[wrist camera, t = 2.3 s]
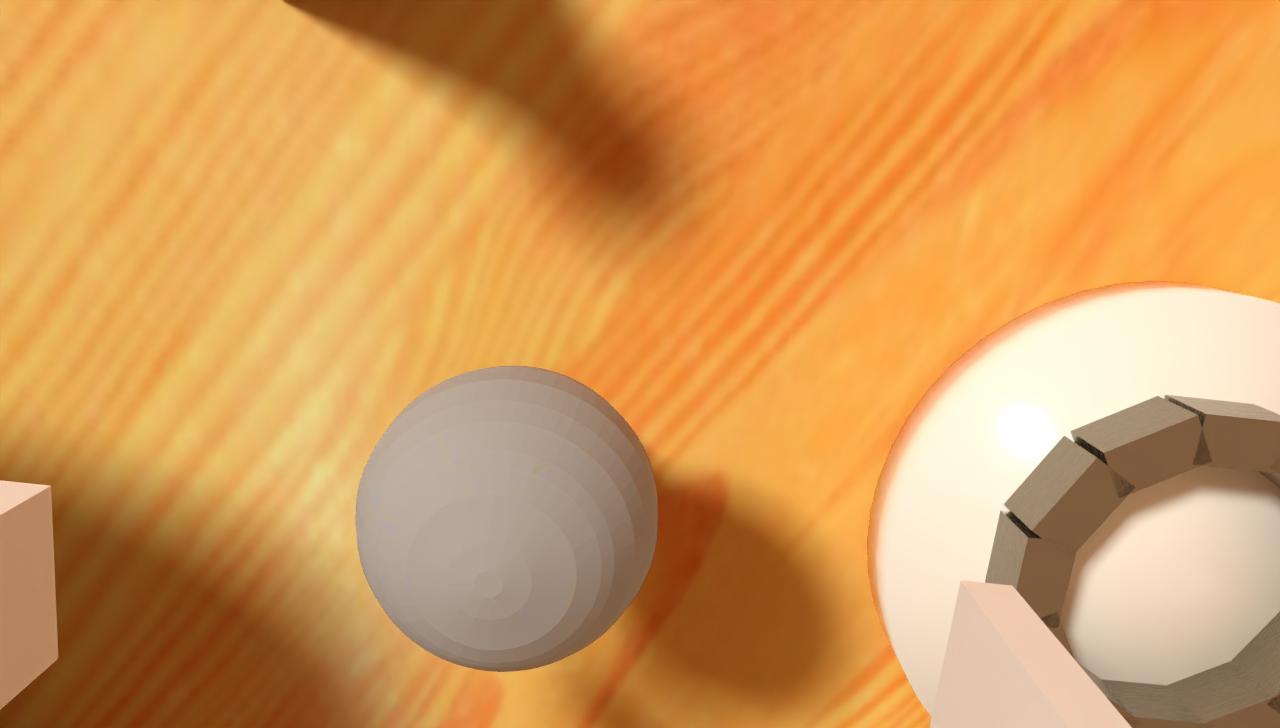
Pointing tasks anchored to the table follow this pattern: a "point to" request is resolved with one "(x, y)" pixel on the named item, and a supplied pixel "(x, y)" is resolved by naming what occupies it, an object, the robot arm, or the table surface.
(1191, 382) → the socket base
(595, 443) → the light bulb
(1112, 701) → the socket collar
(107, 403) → the table surface
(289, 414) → the table surface
